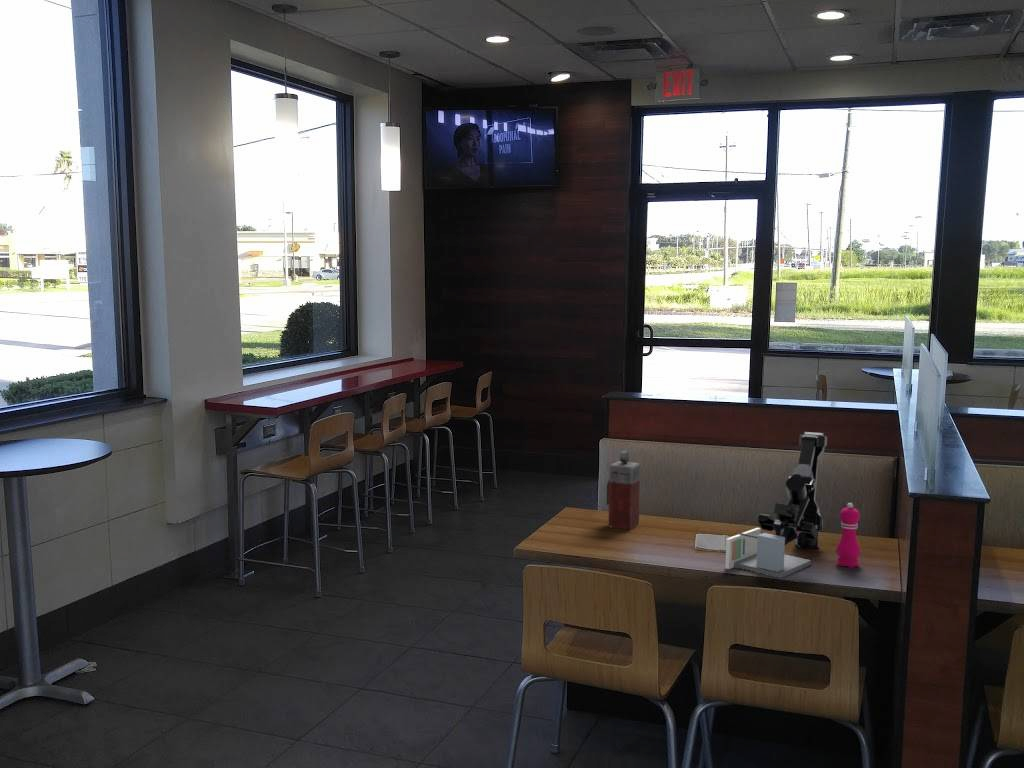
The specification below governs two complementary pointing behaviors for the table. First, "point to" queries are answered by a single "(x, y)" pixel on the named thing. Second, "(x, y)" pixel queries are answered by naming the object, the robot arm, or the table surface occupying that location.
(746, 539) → the gauge stand
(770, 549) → the gauge carriage
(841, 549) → the pepper mill
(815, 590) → the table surface
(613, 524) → the red square canister
